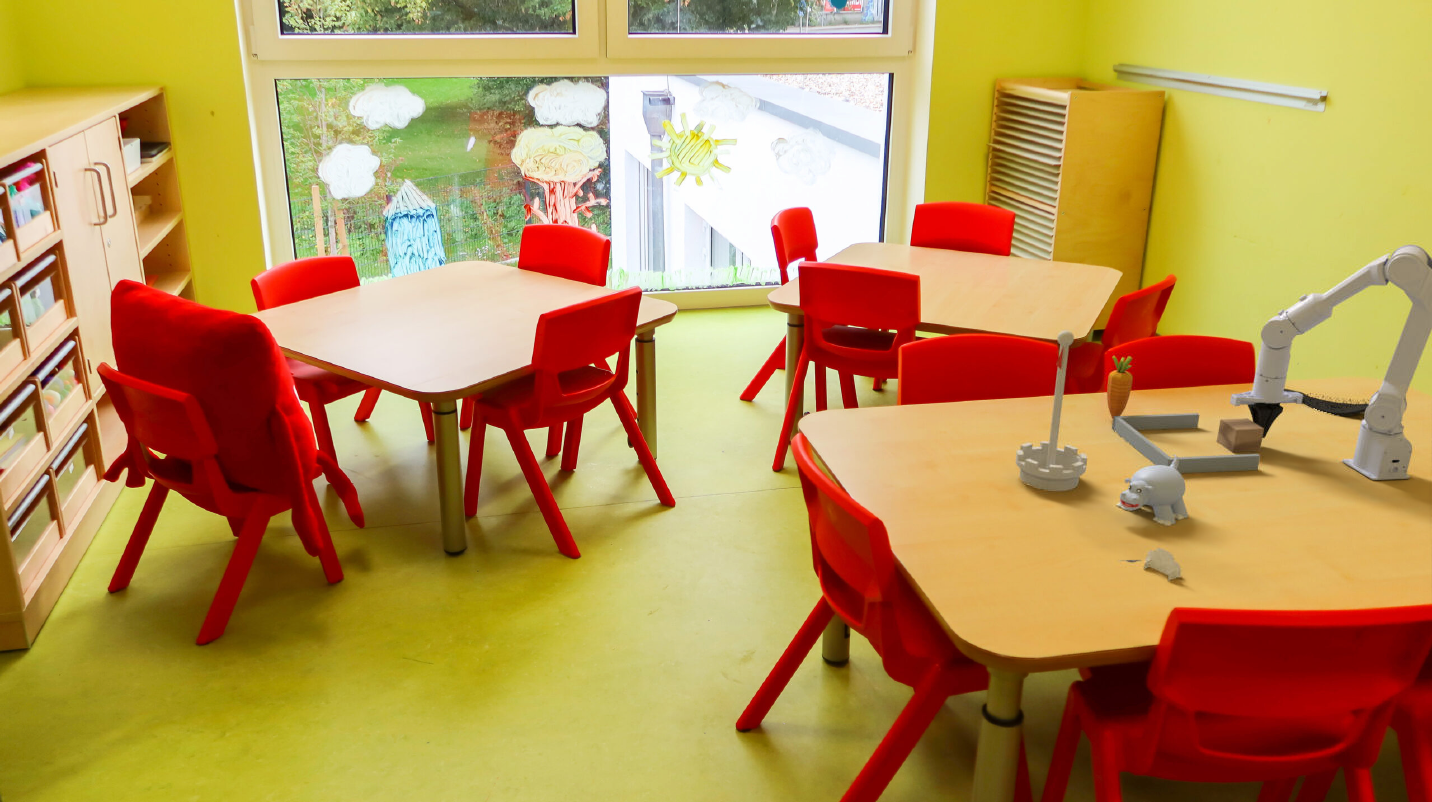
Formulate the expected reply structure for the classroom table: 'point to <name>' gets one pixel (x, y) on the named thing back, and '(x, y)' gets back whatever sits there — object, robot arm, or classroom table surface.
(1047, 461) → the flag stand
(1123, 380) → the carrot
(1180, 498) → the hippopotamus toy
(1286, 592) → the classroom table surface
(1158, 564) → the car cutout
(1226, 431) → the walnut block
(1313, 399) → the hairbrush
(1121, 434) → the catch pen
